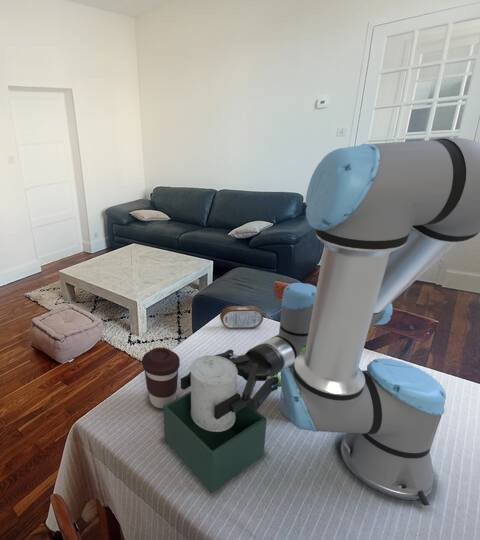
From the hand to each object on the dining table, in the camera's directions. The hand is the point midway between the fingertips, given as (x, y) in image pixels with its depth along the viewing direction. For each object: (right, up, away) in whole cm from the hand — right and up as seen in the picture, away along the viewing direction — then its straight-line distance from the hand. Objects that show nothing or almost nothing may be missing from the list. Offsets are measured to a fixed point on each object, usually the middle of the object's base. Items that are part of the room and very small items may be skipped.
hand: (197, 398), depth 70 cm
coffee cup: (-4, -10, +24) cm, 26 cm away
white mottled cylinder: (+4, -5, +5) cm, 8 cm away
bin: (+5, -14, +8) cm, 17 cm away
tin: (+29, +5, +55) cm, 62 cm away
